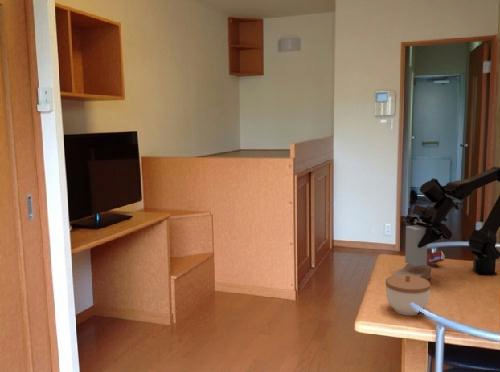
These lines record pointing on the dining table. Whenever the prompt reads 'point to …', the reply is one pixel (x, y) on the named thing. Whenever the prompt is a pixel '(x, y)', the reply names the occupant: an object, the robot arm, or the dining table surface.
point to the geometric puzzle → (435, 257)
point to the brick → (415, 271)
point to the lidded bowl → (407, 293)
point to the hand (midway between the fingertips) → (413, 245)
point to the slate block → (415, 246)
